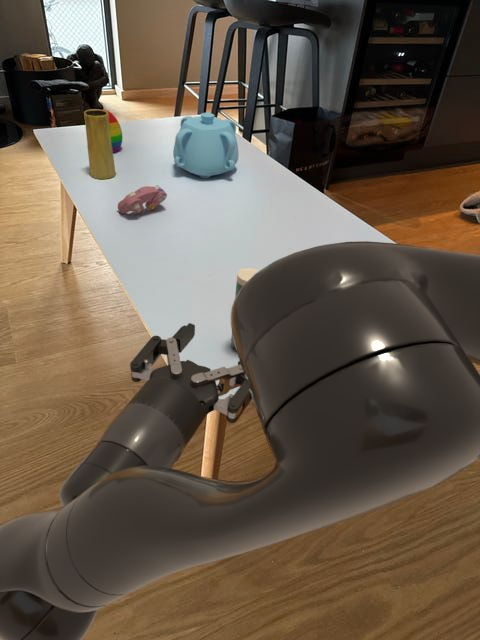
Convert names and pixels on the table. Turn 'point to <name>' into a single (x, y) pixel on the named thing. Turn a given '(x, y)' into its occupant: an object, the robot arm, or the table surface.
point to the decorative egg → (115, 132)
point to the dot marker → (242, 278)
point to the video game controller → (142, 199)
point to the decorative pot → (206, 145)
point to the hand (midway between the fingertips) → (221, 339)
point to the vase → (99, 144)
